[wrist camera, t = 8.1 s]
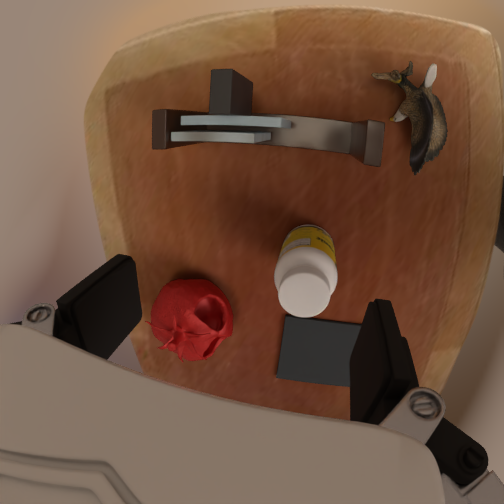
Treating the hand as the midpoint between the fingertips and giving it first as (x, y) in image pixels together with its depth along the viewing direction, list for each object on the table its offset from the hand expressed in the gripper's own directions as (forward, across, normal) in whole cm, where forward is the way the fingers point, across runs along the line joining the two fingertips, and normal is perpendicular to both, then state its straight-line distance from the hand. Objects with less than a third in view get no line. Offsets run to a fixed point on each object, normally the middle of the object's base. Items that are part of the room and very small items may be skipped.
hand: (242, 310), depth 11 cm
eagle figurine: (+20, -11, -10) cm, 25 cm away
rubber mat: (+20, -7, +20) cm, 29 cm away
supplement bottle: (+20, -2, +5) cm, 21 cm away
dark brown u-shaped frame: (+20, +2, -6) cm, 21 cm away
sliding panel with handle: (+19, +4, -8) cm, 21 cm away
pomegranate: (+20, +10, +15) cm, 27 cm away
